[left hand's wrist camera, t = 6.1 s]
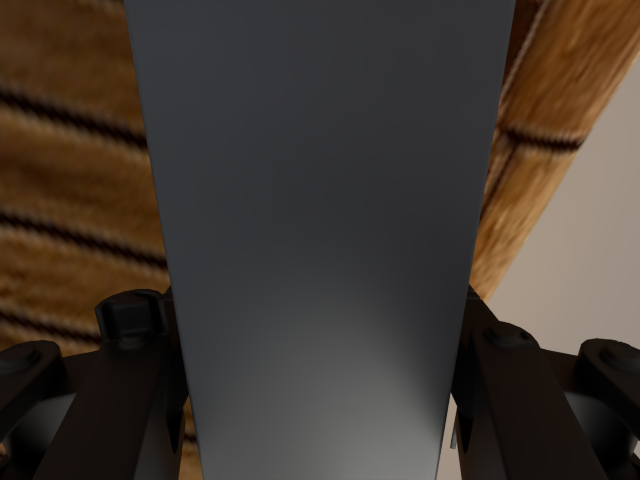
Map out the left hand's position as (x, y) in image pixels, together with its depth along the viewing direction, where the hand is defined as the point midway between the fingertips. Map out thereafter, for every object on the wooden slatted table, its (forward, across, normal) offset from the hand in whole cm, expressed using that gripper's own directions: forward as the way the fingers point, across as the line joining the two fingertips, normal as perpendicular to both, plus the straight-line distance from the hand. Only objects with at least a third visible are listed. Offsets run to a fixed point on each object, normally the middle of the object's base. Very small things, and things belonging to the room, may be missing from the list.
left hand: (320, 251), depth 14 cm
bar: (+1, 0, -9) cm, 9 cm away
